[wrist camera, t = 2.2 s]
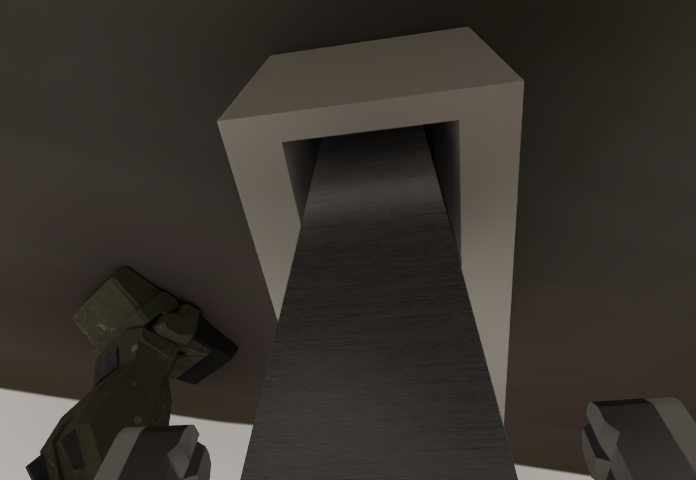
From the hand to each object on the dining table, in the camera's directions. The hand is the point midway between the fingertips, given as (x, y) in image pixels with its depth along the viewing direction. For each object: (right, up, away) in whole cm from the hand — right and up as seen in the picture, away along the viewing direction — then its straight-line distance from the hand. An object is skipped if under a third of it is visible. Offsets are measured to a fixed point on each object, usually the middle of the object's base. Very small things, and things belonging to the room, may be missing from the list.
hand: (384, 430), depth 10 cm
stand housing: (+2, +6, +19) cm, 20 cm away
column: (+1, +11, +16) cm, 19 cm away
